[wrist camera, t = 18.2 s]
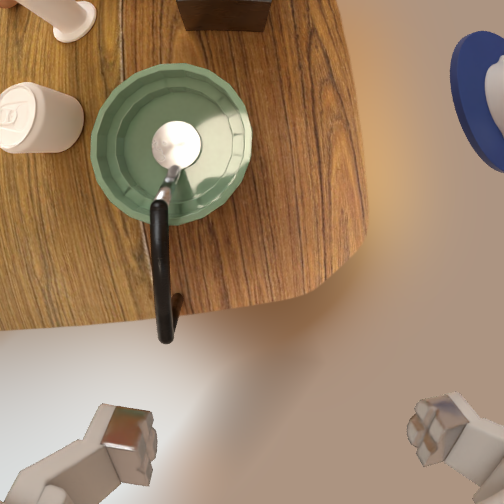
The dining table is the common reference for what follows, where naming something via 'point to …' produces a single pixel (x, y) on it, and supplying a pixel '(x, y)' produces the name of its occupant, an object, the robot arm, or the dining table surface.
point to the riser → (224, 14)
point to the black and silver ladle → (174, 159)
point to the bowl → (145, 126)
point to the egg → (7, 3)
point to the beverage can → (38, 119)
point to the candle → (64, 16)
